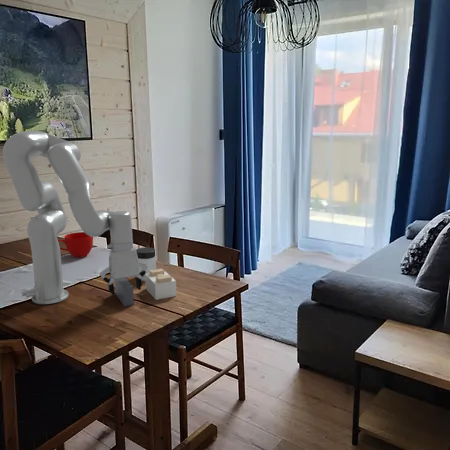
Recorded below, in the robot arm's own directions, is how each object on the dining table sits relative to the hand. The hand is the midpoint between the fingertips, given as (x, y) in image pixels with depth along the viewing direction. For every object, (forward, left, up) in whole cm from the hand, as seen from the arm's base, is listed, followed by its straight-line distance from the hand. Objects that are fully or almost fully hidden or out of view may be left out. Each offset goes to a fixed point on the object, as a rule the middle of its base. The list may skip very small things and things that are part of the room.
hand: (125, 291), depth 163 cm
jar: (+13, +18, -3) cm, 23 cm away
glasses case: (-1, 0, -3) cm, 3 cm away
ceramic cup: (-8, +62, -3) cm, 63 cm away
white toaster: (+13, 0, -3) cm, 14 cm away
